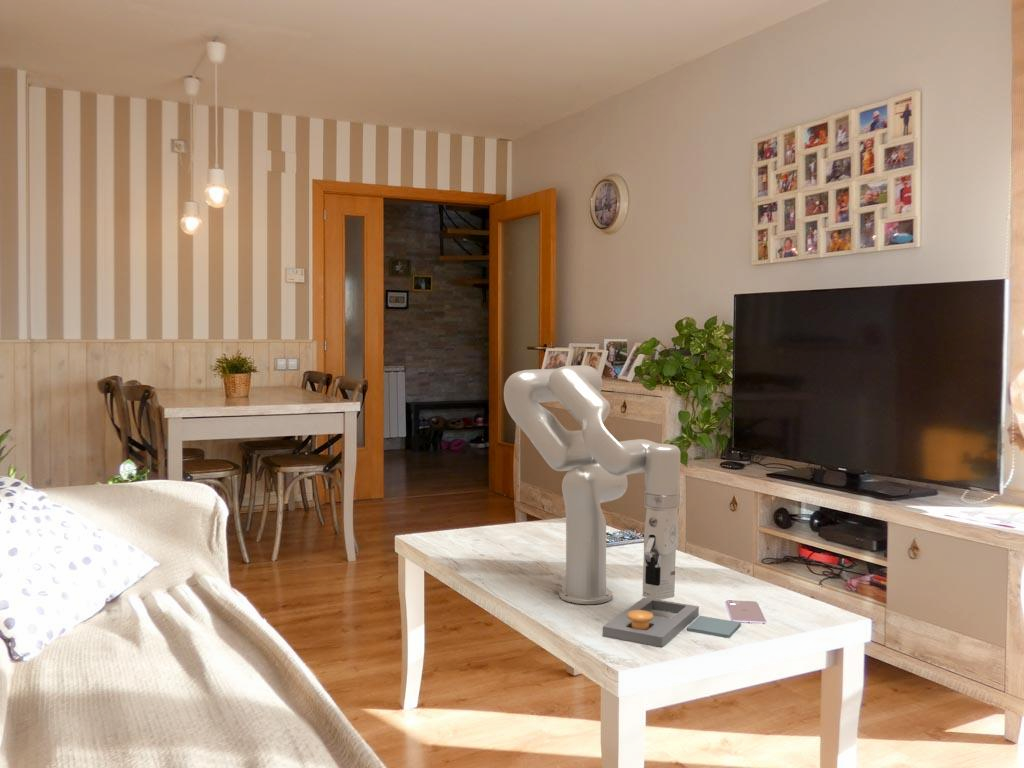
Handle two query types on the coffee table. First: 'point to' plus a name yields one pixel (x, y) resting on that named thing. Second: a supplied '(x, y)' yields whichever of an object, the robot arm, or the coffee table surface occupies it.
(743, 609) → the mobile phone
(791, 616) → the coffee table surface
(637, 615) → the plunger
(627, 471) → the robot arm
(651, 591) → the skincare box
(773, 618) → the coffee table surface
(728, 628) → the mat
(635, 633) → the housing
